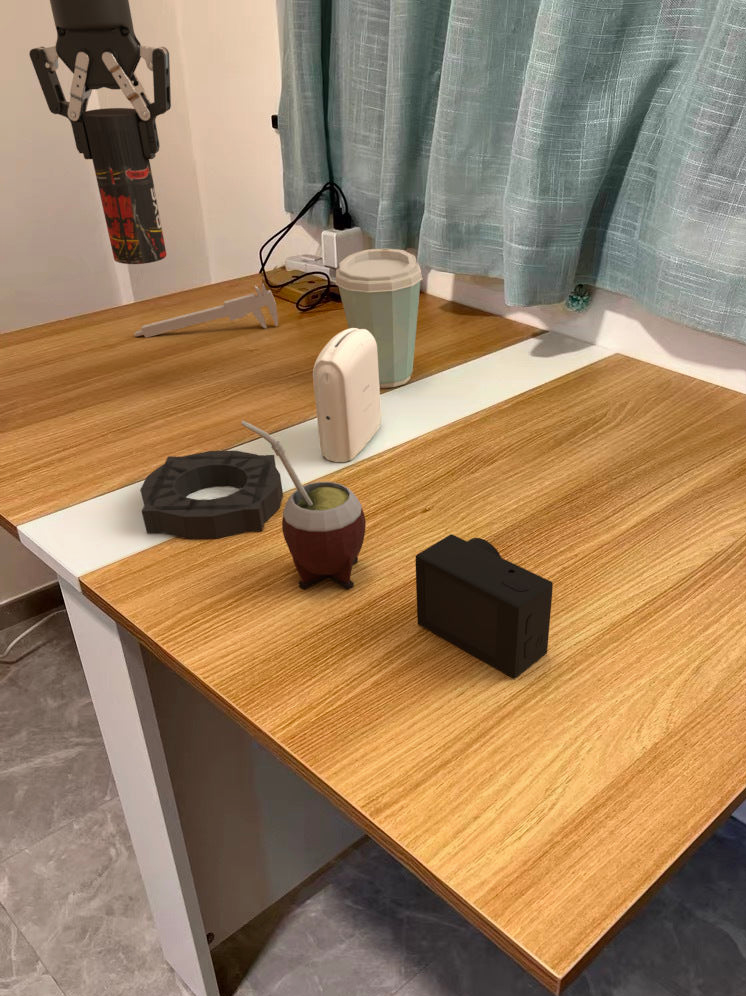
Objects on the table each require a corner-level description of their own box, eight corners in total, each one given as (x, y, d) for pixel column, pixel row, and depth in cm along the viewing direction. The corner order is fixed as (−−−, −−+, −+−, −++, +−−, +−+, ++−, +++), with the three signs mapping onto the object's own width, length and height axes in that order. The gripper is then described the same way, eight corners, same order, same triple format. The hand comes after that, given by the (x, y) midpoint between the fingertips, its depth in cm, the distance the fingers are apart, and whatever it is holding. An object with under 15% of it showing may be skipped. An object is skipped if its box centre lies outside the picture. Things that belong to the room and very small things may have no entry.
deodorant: (112, 252, 105) (80, 109, 96) (163, 247, 107) (137, 106, 98) (116, 266, 101) (83, 117, 92) (169, 261, 102) (143, 114, 94)
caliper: (278, 325, 130) (273, 282, 127) (279, 328, 130) (273, 284, 126) (135, 336, 127) (125, 291, 124) (134, 338, 126) (124, 294, 123)
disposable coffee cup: (417, 398, 109) (413, 274, 100) (332, 393, 111) (321, 270, 102) (432, 365, 118) (430, 248, 109) (353, 361, 119) (344, 245, 110)
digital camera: (558, 646, 71) (564, 574, 67) (516, 680, 68) (520, 607, 63) (460, 595, 76) (461, 526, 72) (417, 624, 73) (415, 554, 69)
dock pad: (131, 540, 84) (125, 517, 82) (164, 472, 94) (159, 451, 93) (272, 537, 84) (269, 515, 82) (289, 470, 95) (286, 449, 93)
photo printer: (352, 465, 95) (343, 354, 88) (315, 460, 96) (304, 350, 89) (386, 425, 103) (381, 320, 96) (352, 421, 104) (344, 316, 97)
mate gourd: (384, 574, 79) (375, 419, 70) (313, 611, 75) (294, 451, 66) (332, 541, 83) (318, 391, 74) (262, 575, 79) (238, 420, 70)
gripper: (-5, -29, 84) (43, 165, 94) (148, -28, 85) (179, 164, 95) (22, -31, 90) (65, 152, 100) (165, -30, 91) (193, 151, 101)
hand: (120, 157), depth 98 cm, fingers closed on deodorant, 6 cm apart
